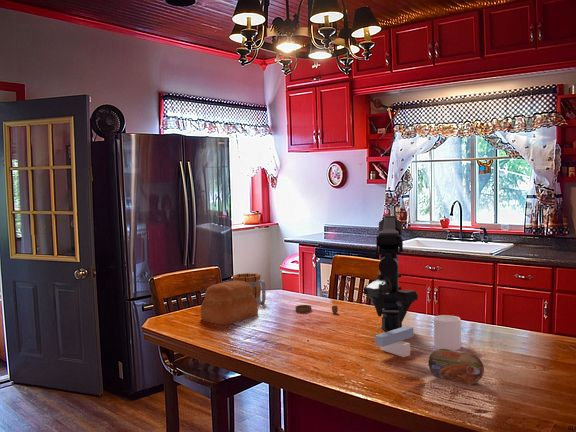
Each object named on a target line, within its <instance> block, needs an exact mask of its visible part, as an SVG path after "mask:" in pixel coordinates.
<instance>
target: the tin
mask: <svg viewBox="0 0 576 432" xmlns="http://www.w3.org/2000/svg"><path fill="white" fill-rule="evenodd" d="M428 367H429V370H430V372H431V374H433V376H434V377H436V378H437V379H443V380H447V381H451V382H454V383H460V384H464V385H469V386H471V385H474V384H477V383H478V382H479V381H480V380H481V379H482V378H483V375H484V372H485V369H484V363H483V362H482V360H481V358H480V357H478V356H477V355H476V354H474V353H472V352H466V351H460V350H448V349H437V350H434V351H432V353H431V354H430V355H429V357H428Z"/></svg>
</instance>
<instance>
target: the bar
mask: <svg viewBox="0 0 576 432" xmlns="http://www.w3.org/2000/svg"><path fill="white" fill-rule="evenodd" d="M413 337H414V327H412V326H407V325H405V326H402V327H401V328H398V329H395V330H391V331H386V332H382V333H378V334H376V335H375V336H374V343H375V344H374V345H375V346H377V347H380V348H381V347H384V346H387V345H390V344H393V343H396V342H399V341H404V340H408V339H410V338H413Z"/></svg>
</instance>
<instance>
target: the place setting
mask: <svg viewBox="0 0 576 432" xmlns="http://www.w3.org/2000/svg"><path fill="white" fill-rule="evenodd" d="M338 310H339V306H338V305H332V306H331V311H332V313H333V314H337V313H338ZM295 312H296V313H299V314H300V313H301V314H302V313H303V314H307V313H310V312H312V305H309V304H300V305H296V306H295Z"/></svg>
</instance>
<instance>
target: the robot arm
mask: <svg viewBox="0 0 576 432" xmlns="http://www.w3.org/2000/svg"><path fill="white" fill-rule="evenodd" d="M402 237H403V222H402V221H401V220H399V219H398V217H397V215H383V216H382V220H380V221H379V222H378V235H377V236H376V247H375V249H376V250H375V251H376V252H375V254H376V255H377V256H378V255H380V257H379V264H378V270H379V273H378V274H377V276H376V280H374V281H372V282H371V283H369V284H366V285H365V286H364V288H363V295H366V296H365V297H367V298H369V299H370V300H371V301H372V303H373V305H374V308H375V311H376V314H377V317H381V327H380V328H381V329H382V330H384V331H386V332H388V331H391V330H395V329H398V328H401V327H403V322H404V319H405V317H406V315H407V313H408V311H409V308H410V307H411V305H412V304H413V303H415V302H416V301H418V298H419V297H418V296H419V295H418V292H417V291H416V290H413V289H412V290H411V289H403V290H402V286H400V285H399V281H400V280H399V278H402V273H399V256H398V255H400V256H401V255H402V253H403V251H404V248H403V246H404V243H403V241H404V239H403V238H402Z"/></svg>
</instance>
